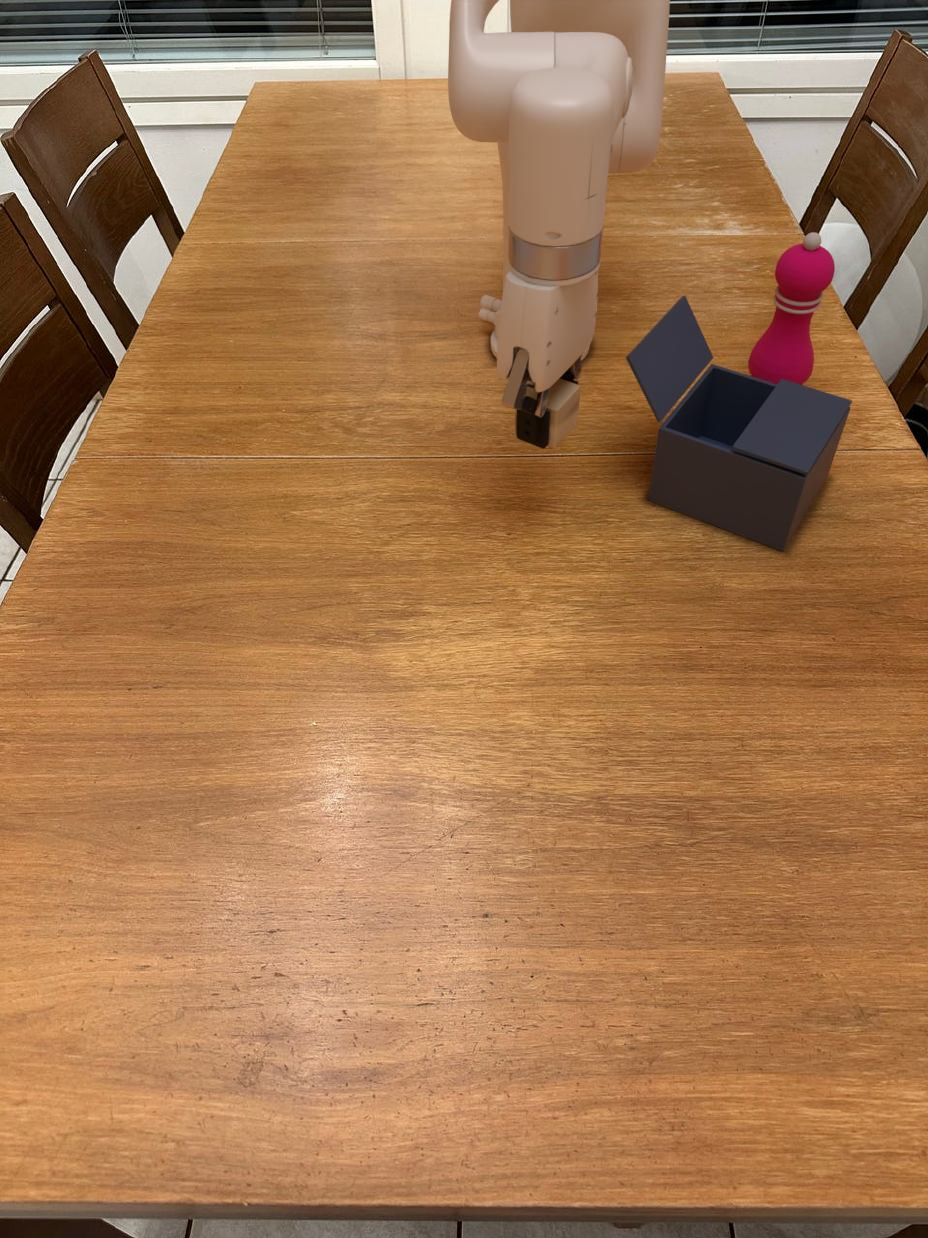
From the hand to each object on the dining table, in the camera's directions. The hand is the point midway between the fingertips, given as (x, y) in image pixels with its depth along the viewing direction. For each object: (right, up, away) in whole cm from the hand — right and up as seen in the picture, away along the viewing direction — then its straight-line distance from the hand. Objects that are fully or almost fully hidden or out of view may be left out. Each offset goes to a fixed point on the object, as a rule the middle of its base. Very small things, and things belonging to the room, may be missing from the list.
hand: (546, 425), depth 89 cm
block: (0, 0, 0) cm, 0 cm away
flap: (+13, +8, +6) cm, 17 cm away
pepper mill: (+29, +8, +23) cm, 38 cm away
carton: (+22, -4, +12) cm, 25 cm away
